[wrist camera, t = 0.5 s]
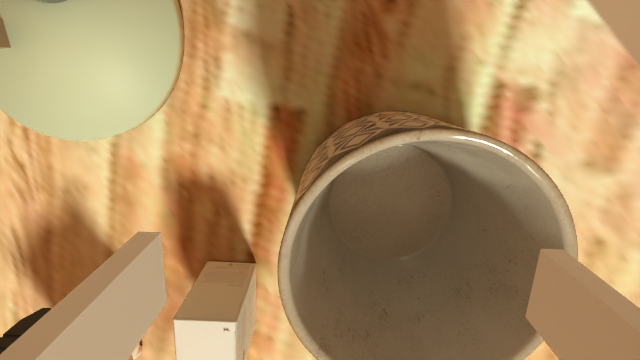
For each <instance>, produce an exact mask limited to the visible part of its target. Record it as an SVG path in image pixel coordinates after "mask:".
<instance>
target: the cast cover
mask: <svg viewBox="0 0 640 360" xmlns="http://www.w3.org/2000/svg"><path fill="white" fill-rule="evenodd" d="M35 1H39V2H43V3H60V2H64V1H67V0H35Z"/></svg>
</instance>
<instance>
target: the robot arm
mask: <svg viewBox="0 0 640 360" xmlns="http://www.w3.org/2000/svg"><path fill="white" fill-rule="evenodd" d="M166 302H167V300H166V288H165V276H164V264H163V252H162V240H161V233H160V232H138V233H137V234H135V235H134V236H133V237H132V238H131V239H130V240H129V241H127V242H126V243H125V244H124V245H123V246H122V247H121V248H120V249H118V250H117V251H116V252H115V253H114V254H113V255H112V256H111V257H109V258H108V259H107V260H106V261H105V262H104V263H103V264H102V265H100V266H99V267H98V268H97V269H96V270H95V271H94V272H93V273H91V274H90V275H89V276H88V277H87V278H86V279H85V280H84V281H82V282H81V283H80V284H79V285H78V286H77V287H76V288H74V289H73V290H72V291H71V292H70V293H69V294H68V295H67V296H65V297H64V298H63V299H62V300H61V301H60V302H59V303H58V304H56V305H55V306H54V307H53V308H42V309H40V310H38V311H36V312H35V313H33V314H31V315H29V316H27V317H25V318H23V319H21V320H20V321H19V322H17V323H16V324H15V325H14V326H13V327H11V328H10V329H9V330H8V331H7V332H5V333H4V334H3V337H0V360H128V359H129V357H130V356H131V354H132V353H133V351H134V350H135V348H136V347H137V345H138V344H139V342H140V341H141V339H142V338H143V336H144V335H145V333H146V332H147V330H148V329H149V327H150V326H151V324H152V323H153V321H154V320H155V319H156V317H157V316H158V314H159V313H160V311H161V310H162V308H163V307H164V305H165V304H166ZM525 317H526V318H527V320H528V321H529V322H530V323H531V325H532V326H533V327H534V328H535V330H536V331H537V332H538V333H539V335H540V336H541V337H542V338H543V340H544V341H545V342H546V343H547V345H548V346H549V347H550V348H551V350H552V351H553V352H554V353H555V355H556V356H557V357H558V358H559V360H640V308H639V307H637V306H636V305H635V304H633V303H632V302H631V301H629V300H628V299H627V298H626V297H624V296H623V295H622V294H620V293H619V292H618V291H616V290H615V289H614V288H612V287H611V286H610V285H609V284H607V283H606V282H605V281H603V280H602V279H601V278H599V277H598V276H597V275H596V274H594V273H593V272H592V271H590V270H589V269H588V268H586V267H585V266H584V265H582V264H581V263H580V262H579V261H577V260H576V259H575V258H573V257H572V256H571V255H569V254H568V253H567V252H566V251H564V250H562V249H541V250H540V254H539V259H538V263H537V267H536V272H535V276H534V281H533V285H532V290H531V294H530V298H529V303H528V307H527V312H526V316H525Z"/></svg>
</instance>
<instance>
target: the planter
mask: <svg viewBox="0 0 640 360" xmlns="http://www.w3.org/2000/svg"><path fill="white" fill-rule="evenodd" d="M541 249H562V250H564V251H566V252H567V253H568V254H569V255H571V256H572V257H573V258H575V259H576V260H577V261H578V245H577V235H576V230H575V225H574V222H573V218H572V215H571V212H570V210H569V207H568V205H567V203H566V201H565V199H564V197H563V195H562V193H561V192H560V190H559V189H558V187H557V186H556V184H555V183H554V182H553V180H552V179H551V178H550V177H549V175H548V174H547V173H546V172H545V171H544V170H543V169H542V168H541V167H540V166H539V165H538V164H536V163H535V162H534V161H533V160H532V159H530V158H529V157H528V156H526V155H525V154H524V153H522V152H520V151H519V150H517V149H516V148H514V147H512V146H510V145H508V144H506V143H504V142H502V141H500V140H497V139H495V138H492V137H489V136H486V135H483V134H480V133H477V132H474V131H470V130H467V129H464V128H461V127H458V126H455V125H452V124H449V123H446V122H442V121H439V120H436V119H433V118H430V117H427V116H424V115H420V114H416V113H412V112H405V111H385V112H378V113H372V114H369V115H365V116H362V117H359V118H357V119H354V120H352V121H350V122H348V123H346V124H345V125H343V126H341V127H340V128H338V129H337V130H336V131H334V132H333V133H332V134H330V135H329V136H328V137H327V138H326V139H325V140H324V141H323V142H322V143H321V144H320V145H319V147H318V148H317V149H316V150H315V152H314V153H313V155H312V156H311V158H310V160H309V161H308V163H307V165H306V168H305V170H304V172H303V175H302V178H301V181H300V184H299V188H298V191H297V194H296V197H295V200H294V203H293V206H292V209H291V213H290V216H289V219H288V222H287V225H286V228H285V231H284V235H283V238H282V241H281V246H280V251H279V258H278V286H279V292H280V297H281V301H282V305H283V308H284V311H285V314H286V316H287V319H288V321H289V323H290V325H291V327H292V329H293V331H294V332H295V334H296V335H297V337H298V338H299V340H300V341H301V343H302V344H303V345H304V346H305V348H306V349H307V350H308V351H309V352H310V353H311V354H312V355H313V356H314V357H315V358H316V359H317V360H524V359H525V358H526V357H527V356H529V355H530V354H531V353H532V352H533V351H534V350H535V349H536V348H537V347H538V346H539V345H540V344H541V343H542V342H543V341H544V340H543V338H542V337H541V336H540V335H539V333H538V332H537V331H536V330H535V328H534V327H533V326H532V325H531V323H530V322H529V321H528V320H527V318H526V317H525V316H526V312H527V307H528V303H529V298H530V294H531V290H532V285H533V281H534V276H535V272H536V267H537V263H538V259H539V254H540V250H541Z"/></svg>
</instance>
